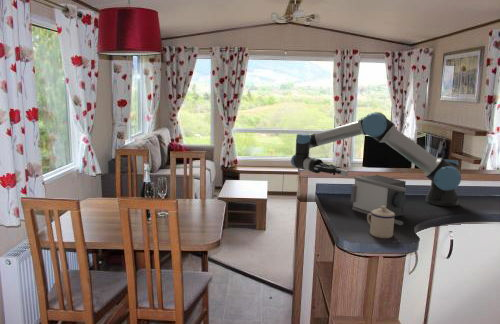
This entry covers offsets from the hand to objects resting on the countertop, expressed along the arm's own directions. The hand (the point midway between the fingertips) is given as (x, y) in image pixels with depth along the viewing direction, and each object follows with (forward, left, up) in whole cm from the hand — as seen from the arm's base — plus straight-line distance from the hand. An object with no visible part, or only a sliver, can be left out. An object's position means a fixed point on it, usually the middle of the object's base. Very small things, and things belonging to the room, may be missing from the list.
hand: (346, 173), depth 193 cm
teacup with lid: (-2, +38, -17) cm, 41 cm away
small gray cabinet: (-15, +12, -17) cm, 26 cm away
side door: (-7, +12, -15) cm, 21 cm away
